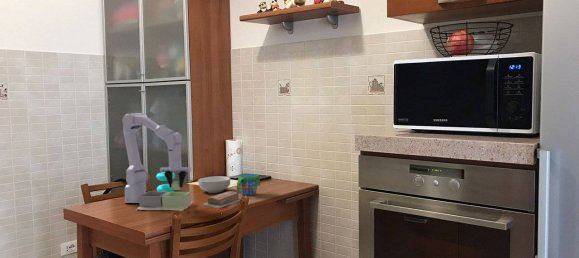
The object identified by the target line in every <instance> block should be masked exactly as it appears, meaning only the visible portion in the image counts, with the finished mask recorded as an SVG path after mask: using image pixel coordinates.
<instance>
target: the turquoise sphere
mask: <svg viewBox="0 0 579 258" xmlns="http://www.w3.org/2000/svg"><path fill="white" fill-rule="evenodd" d="M164 173H165V172H159V173H157V174H156V176H155V178H156V179H157V180H158V181H164V182H165V181H166V182H168V180H167V178H166V177H165V175H164ZM174 178H176V173H175V172H173V175H172V180H173V179H174ZM156 192H168V193H169V192H176V190H173V189H172V187H171V188H170V187H169V183H164V184H160V185H158V186H157V187H156Z"/></svg>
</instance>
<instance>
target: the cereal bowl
mask: <svg viewBox="0 0 579 258" xmlns="http://www.w3.org/2000/svg"><path fill="white" fill-rule="evenodd" d="M197 182H198V186H199V188H200V189H201V190H202V191H204V192H207V193H209V194H218V193H219V194H220V193H223V191H224V190H226V189H228V188H230V186H231V178H230V176H229V177H228V176H223V175H221V176H219V175H217V176H215V175H214V176H206V177H202V178H199V179H198V181H197Z"/></svg>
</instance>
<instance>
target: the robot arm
mask: <svg viewBox="0 0 579 258" xmlns="http://www.w3.org/2000/svg"><path fill="white" fill-rule="evenodd" d="M121 121H122V125H123V126H122V127H123V129H122V131H123V139H124V142H125V149H126V154H127V160H128V165H129V167H127V169H126V170H125V173H126V175H125V180H126V183H127V184H126V185H125V187H124V203H125V202H127V203H139V204H138V205H140V199H139V196H141V195H143V194H145V193H147V191H146V184H147V182H148V180H149V173H148V171H147V168H146V166H144V165H143V164H142V162H141V161H142V160H141V157H140V151H139V146H138V140H137V135H136V134H137V131H139V129H140V128H141V127H143V126H144V127H146V128H147V129H149V130H151V131H152V132H154V134H155V135H156V137H158V138H160V139H161V140H163V141H164V142H165V144H166V146H167V150H168V152H167V153H168V166H166V167H159V173H162V172H165V173H164V175H165V177H166V178H167V180H168V181H167V182H168V183H167V184H169V187H170V188H171V184H172V183H173V179H172V175H173V173H178V174H177V175H178V180H179V182H180V189H181V188H183V187H184V181H185V178H186V176H187V173H191V172H192V167H188V166H186V167H185V166H182V146H181V145H182V143H183V142H184V136H183V135H182V133H180V132H179V131H177V132H175V131H174V130H173V129H170V128H169V127H167V125H166V124H161V125H160V124H158V123H156V122H155V121H154V120H152V119H151V118H149V117H148V115H147V114H144V113H143V112H136V113H126V114H125V115H124V116H123V117H122V119H121Z"/></svg>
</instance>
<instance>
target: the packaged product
mask: <svg viewBox="0 0 579 258" xmlns="http://www.w3.org/2000/svg"><path fill="white" fill-rule="evenodd" d="M239 197H240V196H239V192H237V191H226V192H220V193H219V194H218V193H217V194H215V195H212V196H210V197H208V198H207V202H205V203H202V206H203V207H205V206H206V207H205V208H211V207H212V209H222V208H224V207H227V206H231V205H232V204H233V205H234V204H236V203H238V202H241V201H240V200H241V199H242V198H239Z"/></svg>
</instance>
